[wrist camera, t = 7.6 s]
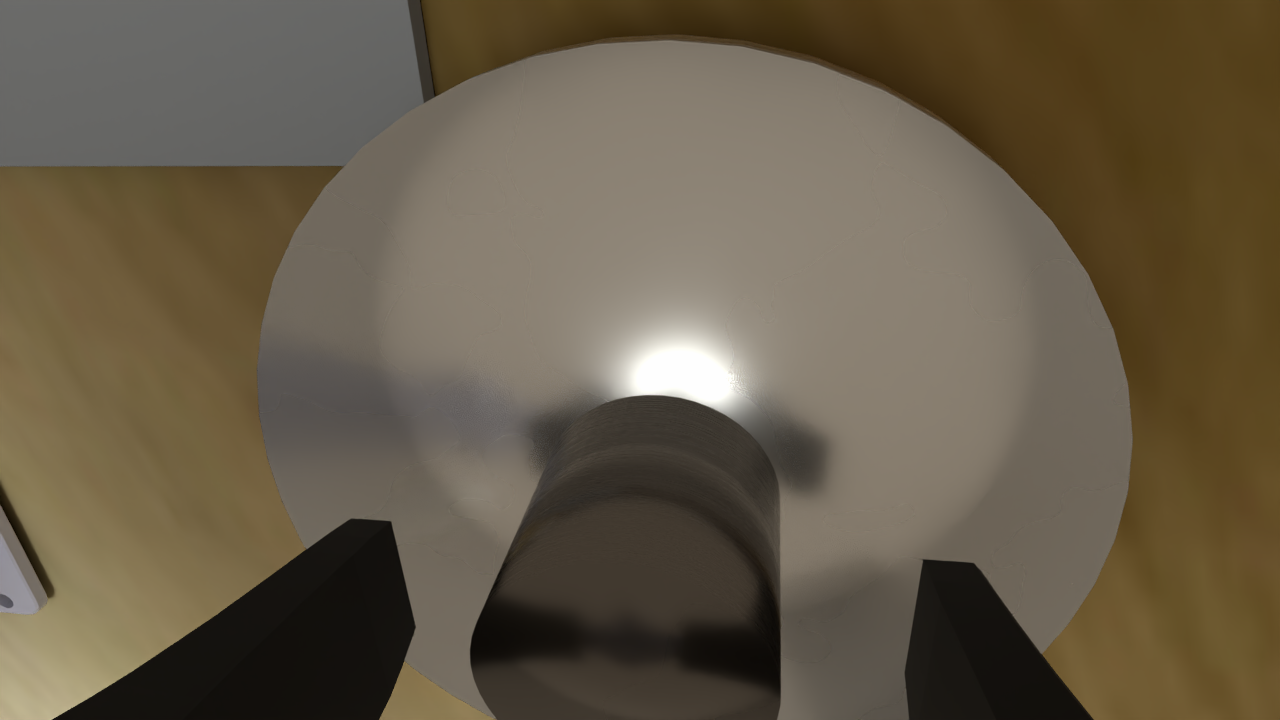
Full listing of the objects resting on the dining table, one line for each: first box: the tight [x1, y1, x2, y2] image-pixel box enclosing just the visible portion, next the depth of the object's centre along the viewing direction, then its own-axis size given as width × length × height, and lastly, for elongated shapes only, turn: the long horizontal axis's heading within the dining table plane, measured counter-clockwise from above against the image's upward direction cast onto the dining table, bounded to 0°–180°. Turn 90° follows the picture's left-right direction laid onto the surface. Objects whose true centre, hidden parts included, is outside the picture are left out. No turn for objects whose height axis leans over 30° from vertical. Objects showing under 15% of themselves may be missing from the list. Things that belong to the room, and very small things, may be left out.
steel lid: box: [257, 34, 1133, 720], centre depth 11 cm, size 13×13×4 cm
